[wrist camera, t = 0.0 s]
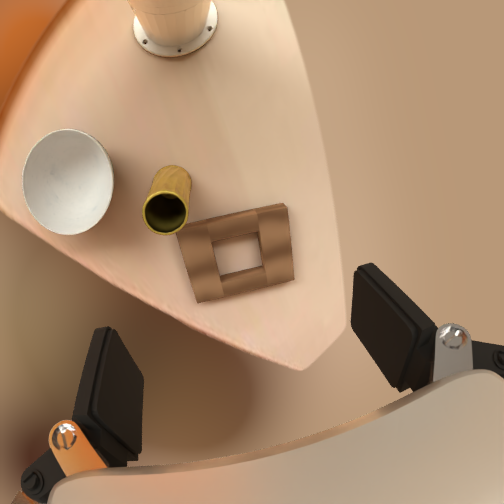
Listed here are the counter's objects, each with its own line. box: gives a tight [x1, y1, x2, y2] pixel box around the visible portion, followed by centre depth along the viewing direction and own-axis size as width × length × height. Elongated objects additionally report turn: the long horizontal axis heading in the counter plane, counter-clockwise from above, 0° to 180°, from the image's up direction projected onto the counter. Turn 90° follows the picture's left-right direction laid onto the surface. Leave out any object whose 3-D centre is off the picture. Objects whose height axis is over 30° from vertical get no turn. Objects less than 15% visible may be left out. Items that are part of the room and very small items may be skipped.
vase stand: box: [176, 203, 294, 303], centre depth 49 cm, size 14×18×2 cm
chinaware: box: [22, 129, 114, 235], centre depth 35 cm, size 15×15×8 cm
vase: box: [142, 165, 191, 235], centre depth 37 cm, size 6×6×14 cm
